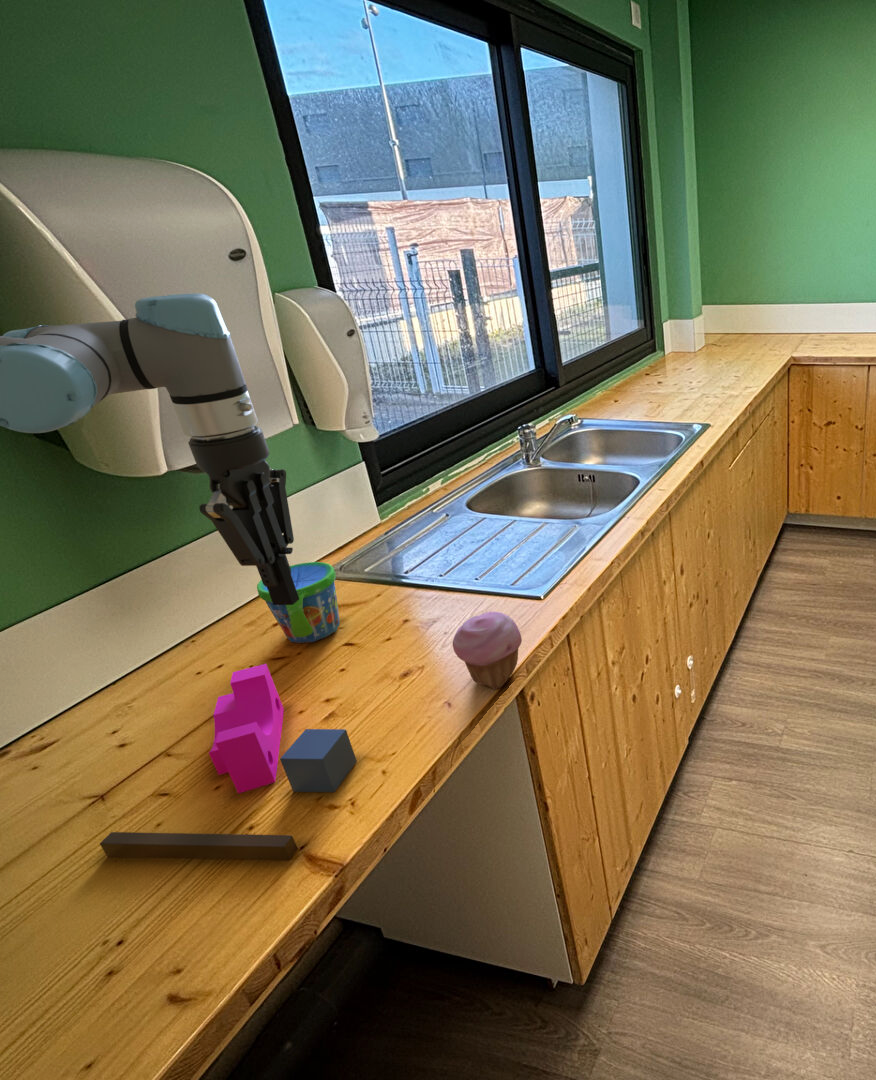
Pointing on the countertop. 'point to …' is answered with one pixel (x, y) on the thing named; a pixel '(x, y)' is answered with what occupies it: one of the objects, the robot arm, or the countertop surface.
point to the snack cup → (307, 603)
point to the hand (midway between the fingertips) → (286, 601)
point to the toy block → (248, 729)
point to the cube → (318, 760)
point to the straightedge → (199, 846)
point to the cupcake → (488, 647)
